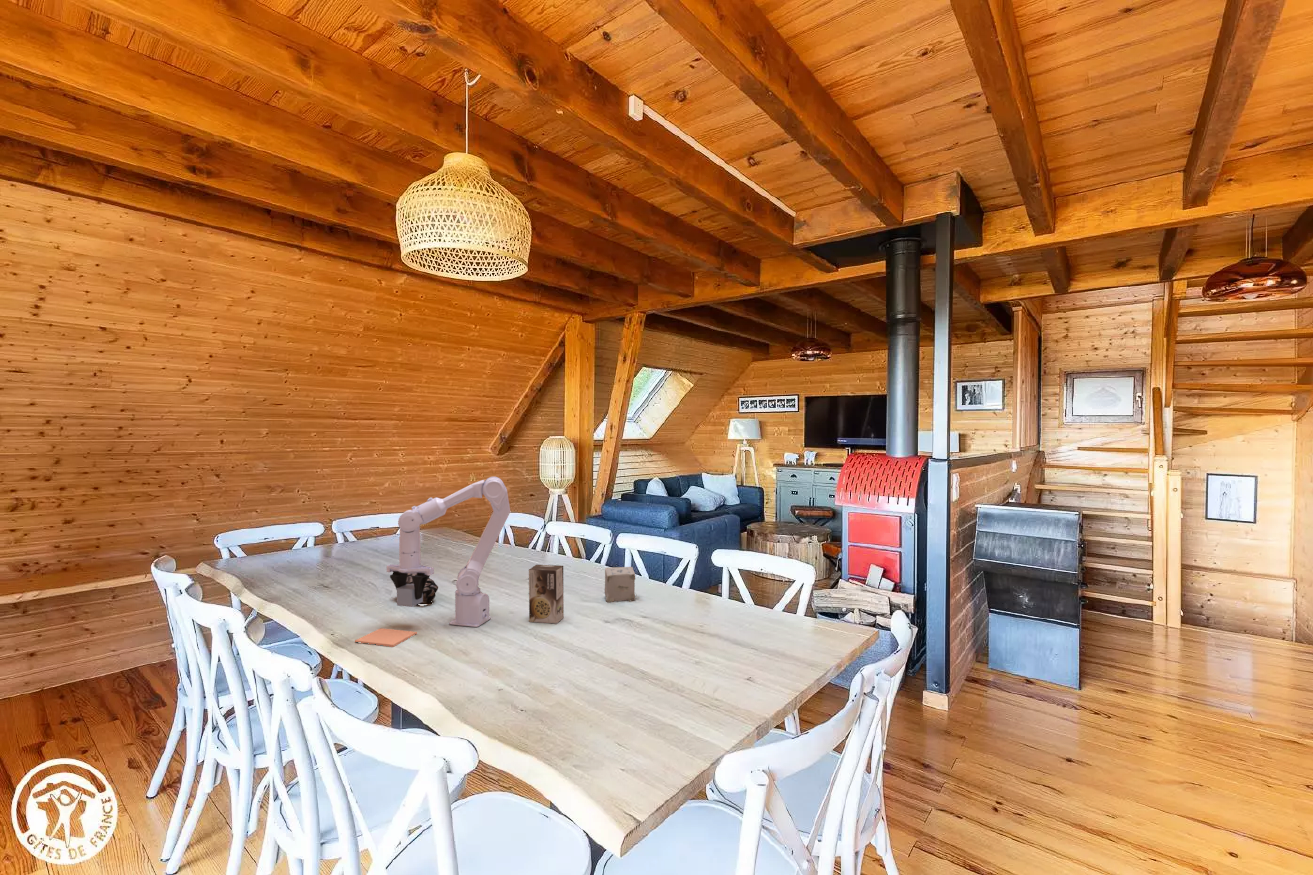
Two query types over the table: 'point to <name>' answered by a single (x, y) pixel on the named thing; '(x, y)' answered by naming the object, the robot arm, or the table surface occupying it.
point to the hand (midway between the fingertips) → (410, 597)
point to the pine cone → (425, 589)
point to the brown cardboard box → (619, 584)
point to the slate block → (407, 596)
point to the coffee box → (546, 594)
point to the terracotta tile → (386, 637)
